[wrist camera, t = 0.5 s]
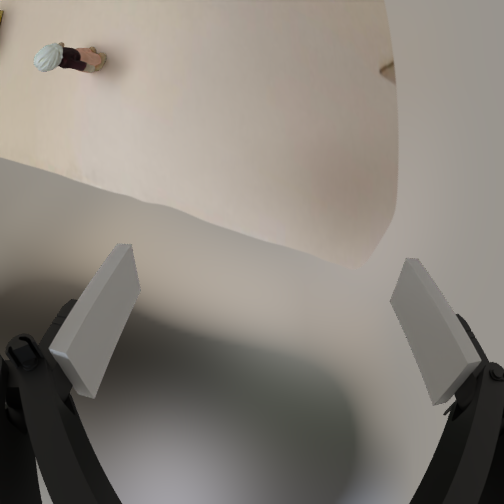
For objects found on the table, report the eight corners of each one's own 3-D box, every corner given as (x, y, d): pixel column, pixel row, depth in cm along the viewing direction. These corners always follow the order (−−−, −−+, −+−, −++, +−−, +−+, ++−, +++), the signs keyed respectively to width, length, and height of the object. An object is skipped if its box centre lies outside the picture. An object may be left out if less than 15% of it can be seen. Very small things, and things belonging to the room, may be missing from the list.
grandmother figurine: (72, 65, 30) (14, 68, 19) (82, 41, 28) (25, 36, 17) (110, 80, 32) (56, 84, 21) (122, 55, 30) (70, 50, 19)
